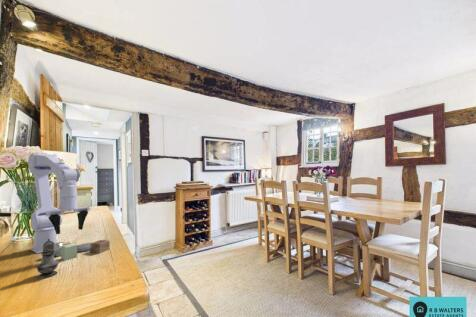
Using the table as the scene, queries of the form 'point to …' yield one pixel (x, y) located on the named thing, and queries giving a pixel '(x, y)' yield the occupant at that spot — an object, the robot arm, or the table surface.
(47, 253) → the dark grey tall piece
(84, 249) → the coaster
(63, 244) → the terracotta block
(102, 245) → the walnut block
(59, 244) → the grey tin
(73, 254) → the sage block
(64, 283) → the table surface
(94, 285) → the table surface
